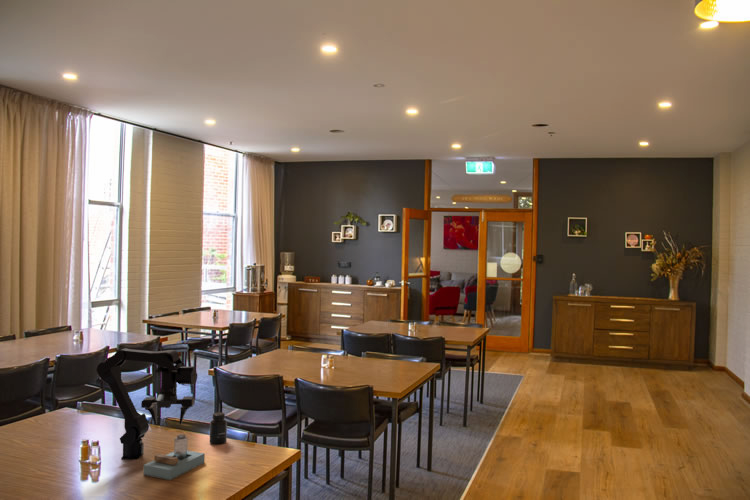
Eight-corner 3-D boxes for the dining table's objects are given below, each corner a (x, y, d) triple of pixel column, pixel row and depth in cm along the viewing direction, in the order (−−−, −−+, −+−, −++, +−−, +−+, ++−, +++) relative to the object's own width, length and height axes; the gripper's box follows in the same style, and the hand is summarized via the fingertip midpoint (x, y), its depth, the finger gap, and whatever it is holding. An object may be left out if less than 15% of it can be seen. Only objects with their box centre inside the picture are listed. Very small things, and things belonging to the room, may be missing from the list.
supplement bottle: (221, 446, 231) (222, 416, 231) (206, 444, 233) (206, 415, 233) (229, 440, 238) (229, 412, 238) (214, 439, 239) (214, 411, 239)
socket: (143, 474, 201) (143, 464, 201) (179, 458, 217) (179, 448, 217) (170, 480, 196) (170, 470, 196) (204, 462, 213) (204, 453, 213)
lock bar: (154, 461, 203) (154, 455, 203) (158, 459, 205) (158, 453, 205) (174, 465, 200) (174, 459, 200) (178, 463, 202) (178, 457, 202)
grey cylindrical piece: (172, 466, 207) (173, 437, 207) (175, 462, 212) (176, 433, 212) (185, 466, 207) (186, 437, 208) (188, 462, 212) (189, 433, 212)
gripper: (136, 389, 208) (136, 431, 208) (189, 388, 210) (188, 430, 210) (146, 382, 219) (145, 422, 219) (195, 381, 221) (194, 421, 221)
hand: (168, 424), depth 217 cm, fingers open, 9 cm apart
